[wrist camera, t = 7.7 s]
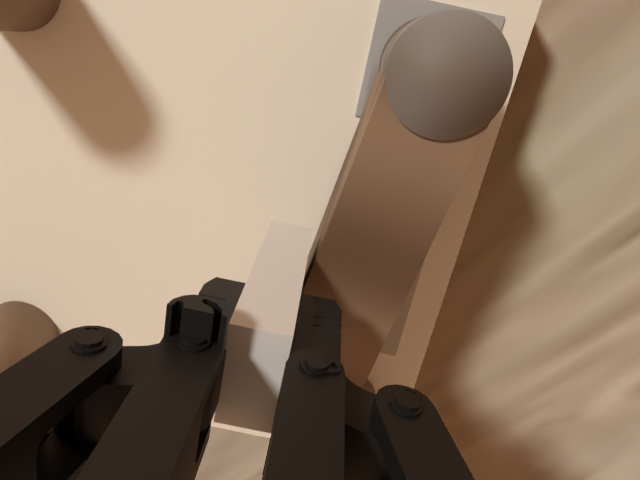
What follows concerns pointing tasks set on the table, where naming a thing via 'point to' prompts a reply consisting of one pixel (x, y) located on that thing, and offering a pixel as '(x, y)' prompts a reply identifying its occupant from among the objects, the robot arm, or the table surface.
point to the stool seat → (193, 154)
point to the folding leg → (405, 171)
